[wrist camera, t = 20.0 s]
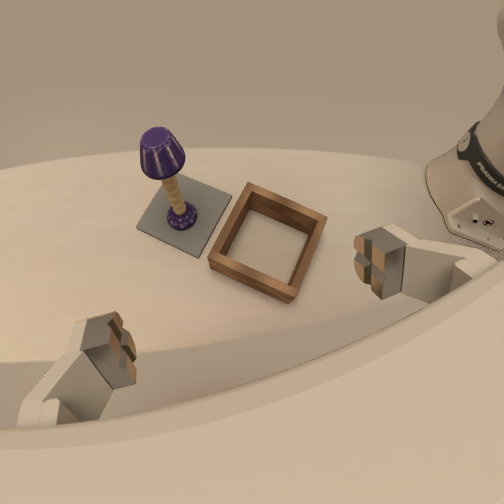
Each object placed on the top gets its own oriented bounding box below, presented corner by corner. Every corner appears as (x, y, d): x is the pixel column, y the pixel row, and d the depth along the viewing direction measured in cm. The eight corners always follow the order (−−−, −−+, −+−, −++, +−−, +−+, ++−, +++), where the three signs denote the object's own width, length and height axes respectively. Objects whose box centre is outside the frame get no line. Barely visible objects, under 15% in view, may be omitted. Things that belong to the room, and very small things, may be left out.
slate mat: (231, 197, 43) (231, 195, 43) (198, 258, 40) (198, 257, 40) (172, 172, 44) (171, 170, 43) (136, 228, 41) (135, 227, 40)
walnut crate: (317, 231, 42) (327, 217, 38) (287, 303, 39) (295, 297, 34) (246, 199, 43) (247, 181, 38) (210, 268, 40) (207, 257, 35)
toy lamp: (158, 220, 41) (121, 147, 25) (176, 194, 42) (152, 113, 26) (186, 236, 40) (161, 165, 25) (204, 208, 42) (191, 129, 26)
